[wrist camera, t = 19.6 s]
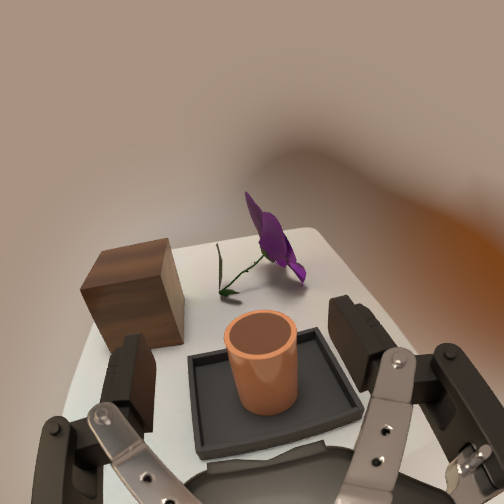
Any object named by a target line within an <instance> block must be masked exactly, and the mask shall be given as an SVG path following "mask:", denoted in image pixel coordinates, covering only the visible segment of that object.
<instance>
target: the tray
mask: <svg viewBox="0 0 504 504" xmlns="http://www.w3.org/2000/svg"><path fill="white" fill-rule="evenodd" d="M297 344H298V383H299V392H298V397H297V399H296V401H295V403H294V404H293V405H292V406H291V407H290V408H289V409H287V410H286V411H284V412H282V413H280V414H276V415H271V416H262V415H257V414H254V413H252V412H250V411H248V410H247V409H246V408H245V407H244V406H243V405H242V404H241V402H240V399H239V395H238V392H237V388H236V384H235V381H234V377H233V373H232V370H231V366H230V362H229V358H228V354H227V350H226V349H223V350H218V351H213V352H207V353H202V354H197V355H191V356H187V358H188V374H189V388H190V400H191V412H192V422H193V432H194V441H195V450H196V453H197V455H198V456H199V458H200V459H201V460H206V459H213V458H219V457H225V456H231V455H236V454H242V453H247V452H251V451H256V450H261V449H265V448H269V447H273V446H277V445H281V444H285V443H289V442H292V441H296V440H299V439H303V438H306V437H310V436H313V435H316V434H319V433H322V432H325V431H328V430H331V429H334V428H337V427H340V426H343V425H345V424H348V423H351V422H353V421H356V420H358V419H361V418H362V415H363V412H364V409H365V408H364V406H363V405H362V403H361V401H360V399H359V398H358V396H357V394H356V392H355V391H354V389H353V387H352V385H351V384H350V382H349V380H348V378H347V377H346V375H345V373H344V372H343V370H342V368H341V366H340V365H339V363H338V361H337V359H336V358H335V356H334V354H333V353H332V351H331V349H330V347H329V346H328V344H327V342H326V341H325V339H324V337H323V335H322V334H321V332H320V330H319V329H318V327H315V328H311V329H308V330H304V331H300V332H297Z"/></svg>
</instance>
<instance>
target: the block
mask: <svg viewBox="0 0 504 504" xmlns="http://www.w3.org/2000/svg"><path fill="white" fill-rule="evenodd" d="M80 291H81V293H82V296H83V298H84V300H85V302H86V304H87V307H88V309H89V311H90V313H91V315H92V317H93V319H94V321H95V323H96V325H97V327H98V329H99V331H100V333H101V335H102V337H103V339H104V341H105V343H106V345H107V347H108V348H109V350H110V352H111V353H113V352H114V350H115V349H116V347H122V345H123V340H124V337H125V335H126V334H134V333H143V334H144V336H145V338H146V340H147V343H148V345H149V347H150V349H151V348H158V347H165V346H172V345H179V344H183V340H184V300H185V298H184V295H183V291H182V288H181V284H180V281H179V277H178V273H177V270H176V266H175V262H174V259H173V255H172V251H171V247H170V243H169V239H168V238H164V239H159V240H154V241H149V242H144V243H139V244H134V245H130V246H124V247H120V248H115V249H110V250H106V251H102V252H101V254H100V255H99V257H98V259H97V260H96V262H95V264H94V265H93V267H92V269H91V271H90V272H89V274H88V276H87V277H86V279H85V281H84V283H83V285H82V286H81V288H80Z"/></svg>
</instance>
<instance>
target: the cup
mask: <svg viewBox="0 0 504 504" xmlns="http://www.w3.org/2000/svg"><path fill="white" fill-rule="evenodd" d="M224 342H225V346H226V350H227V354H228V358H229V362H230V366H231V370H232V373H233V377H234V381H235V384H236V388H237V392H238V395H239V399H240V402H241V404H242V405H243V406H244V407H245V408H246V409H247V410H248V411H250V412H252V413H254V414H257V415H262V416H271V415H276V414H280V413H282V412H284V411H286V410H287V409H289V408H290V407H291V406H292V405H293V404H294V403H295V401H296V399H297V397H298V392H299V383H298V344H297V328H296V325H295V323H294V322H293V321H292V319H290V318H289V317H288V316H287V315H285V314H283V313H280V312H277V311H272V310H258V311H252V312H248V313H245V314H243V315H241V316H239V317H237V318H236V319H234V320H233V321H232V322H231V323H230V324H229V325H228V327H227V328H226V330H225V333H224Z"/></svg>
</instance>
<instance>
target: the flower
mask: <svg viewBox="0 0 504 504" xmlns="http://www.w3.org/2000/svg"><path fill="white" fill-rule="evenodd" d="M245 196H246V202H247V206H248V208H249V212H250V215H251V218H252V220H253V222H254V225H255V227H256V229H257V231H258V234H259V237H260V241H259V244H260V248H261V252H262V254H263V255H262V257H261V258H260V259H259V260H258V261H257V262H256V263H255V262H254V263H255V264H254V265H252V266H251V267H249V268H247V269H246V270H244V271H243V272H241V273H240V274H239V275H238V276H237V277H236V278H235V279H234V280H233V281H232V282H231V283H230V284H229V285H227V286H226V287H225V288H224V289H222V290H220V286H221V280H222V258H221V255H220V251H219V247H218V243H217V244H216V246H217V249H218V253H219V291H218V292H219V294H220V295H223V296H228V295H231V294H239V292H235V291H234V290H229V289H226V288H227V287H229V286H230V285H231V284H232V283H233V282H234V281H235V280H236V279H237V278H238V277H239V276H240V275H241V274H242V273H244V272H249V271H247V270H249V269H251V268H252V267H254V266H255V265H256V264H257V263H258V262H259V261H260V260H261V259H262V258H263V257H264V256H265V257H266V258H267V259H268V260H269V261H271V262H272V263H274V262H275V263H276V262H277V263H276V264H278V265H280V266H282V267H286V265H288V266H289V267H290V268H291V269H292V270H293V271H294V273H295V274H296V275H297V277H298V278H299V279H300V281H301V282H302V284H303V282H304V280H305V277H306V271H305V269H304V267H303V266H302V265H300V264H299V263H297V262H296V257H295V254H294V252H293V249H292V247H291V245H290V243H289V241H288V239H287V237H286V236H285V234H284V233H283V230H282V228H281V225H280V223H279V222H278V220H277V219H276V217H275V216H274V215H272V214H271V213H268V212H262V210H261V209H260V207H259V206H258V205H257V204H256V203H255V202H254V201H253V199H252V198H251V196H250V195H249V194H248V193H247V192H245ZM275 260H276V261H275Z"/></svg>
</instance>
